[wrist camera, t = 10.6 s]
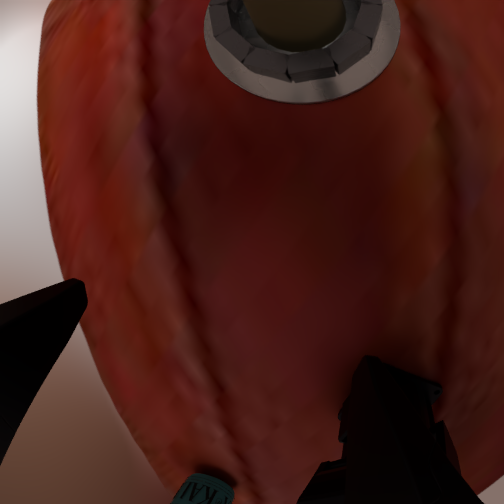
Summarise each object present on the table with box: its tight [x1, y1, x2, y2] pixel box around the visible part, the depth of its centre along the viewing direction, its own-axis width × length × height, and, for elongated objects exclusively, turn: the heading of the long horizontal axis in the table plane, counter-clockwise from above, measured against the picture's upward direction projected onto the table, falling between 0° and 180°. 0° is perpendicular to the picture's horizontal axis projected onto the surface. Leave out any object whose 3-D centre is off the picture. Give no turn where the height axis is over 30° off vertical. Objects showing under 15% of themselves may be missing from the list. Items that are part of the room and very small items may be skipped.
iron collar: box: [204, 0, 400, 104], centre depth 14 cm, size 13×13×3 cm
